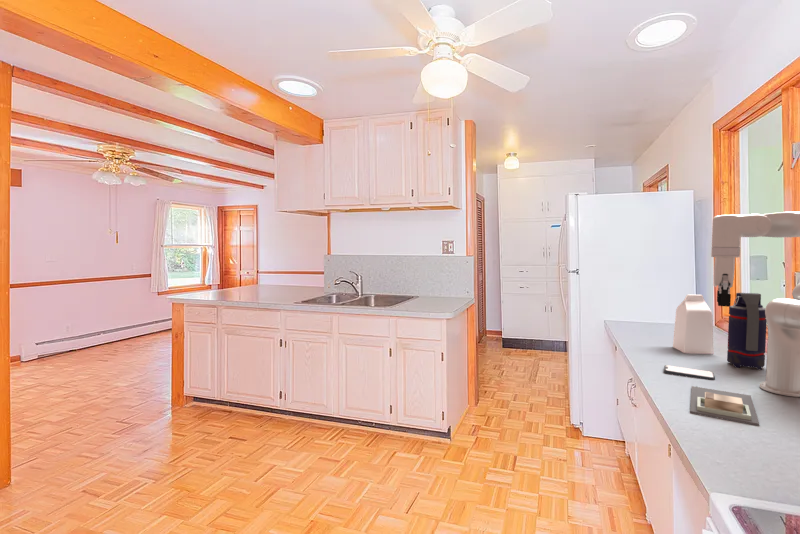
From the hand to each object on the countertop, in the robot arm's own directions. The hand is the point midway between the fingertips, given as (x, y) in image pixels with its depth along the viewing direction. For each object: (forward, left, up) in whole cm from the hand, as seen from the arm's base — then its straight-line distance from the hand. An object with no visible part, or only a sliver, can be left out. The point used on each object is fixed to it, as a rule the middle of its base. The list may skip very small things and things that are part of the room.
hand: (723, 304), depth 142 cm
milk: (-49, -38, -31) cm, 69 cm away
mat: (+10, +6, -30) cm, 32 cm away
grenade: (-42, -13, -31) cm, 54 cm away
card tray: (+16, +9, -30) cm, 35 cm away
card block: (+15, +9, -30) cm, 35 cm away
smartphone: (-12, -18, -31) cm, 38 cm away
